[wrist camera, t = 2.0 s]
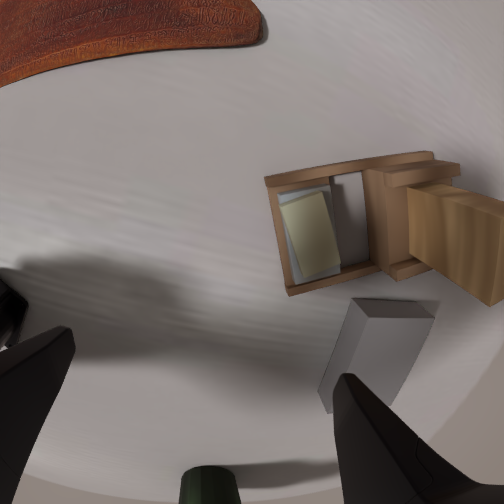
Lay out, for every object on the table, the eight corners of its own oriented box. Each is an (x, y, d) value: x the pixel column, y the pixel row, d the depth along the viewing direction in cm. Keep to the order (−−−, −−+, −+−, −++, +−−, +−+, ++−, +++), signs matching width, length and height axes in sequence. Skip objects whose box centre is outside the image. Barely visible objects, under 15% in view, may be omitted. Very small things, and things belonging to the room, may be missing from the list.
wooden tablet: (263, -51, 14) (267, -63, 12) (264, 53, 17) (268, 45, 15) (-30, 15, 10) (-39, 11, 9) (-47, 112, 14) (-59, 111, 12)
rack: (285, 290, 22) (300, 319, 18) (264, 176, 19) (277, 184, 15) (429, 249, 23) (458, 266, 19) (424, 150, 20) (459, 155, 16)
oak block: (409, 253, 19) (489, 307, 11) (406, 187, 17) (500, 218, 10) (435, 245, 19) (515, 291, 12) (434, 182, 17) (526, 209, 10)
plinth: (317, 391, 26) (327, 413, 23) (351, 298, 23) (368, 317, 20) (378, 386, 27) (390, 405, 24) (416, 301, 24) (435, 318, 21)
